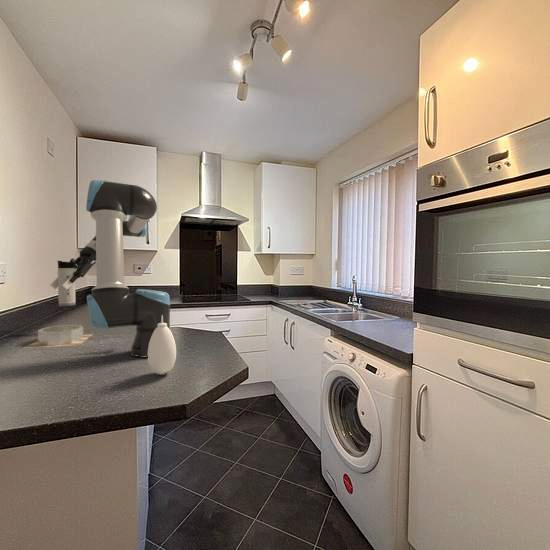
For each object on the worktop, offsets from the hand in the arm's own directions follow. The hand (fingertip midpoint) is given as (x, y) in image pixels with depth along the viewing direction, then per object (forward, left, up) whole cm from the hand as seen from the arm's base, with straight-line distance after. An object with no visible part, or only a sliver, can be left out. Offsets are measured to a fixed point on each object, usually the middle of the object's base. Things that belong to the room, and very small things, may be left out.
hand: (58, 287), depth 129 cm
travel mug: (+3, -2, -9) cm, 9 cm away
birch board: (-11, -5, -22) cm, 26 cm away
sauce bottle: (-57, -47, -23) cm, 78 cm away
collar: (-11, -5, -21) cm, 24 cm away
